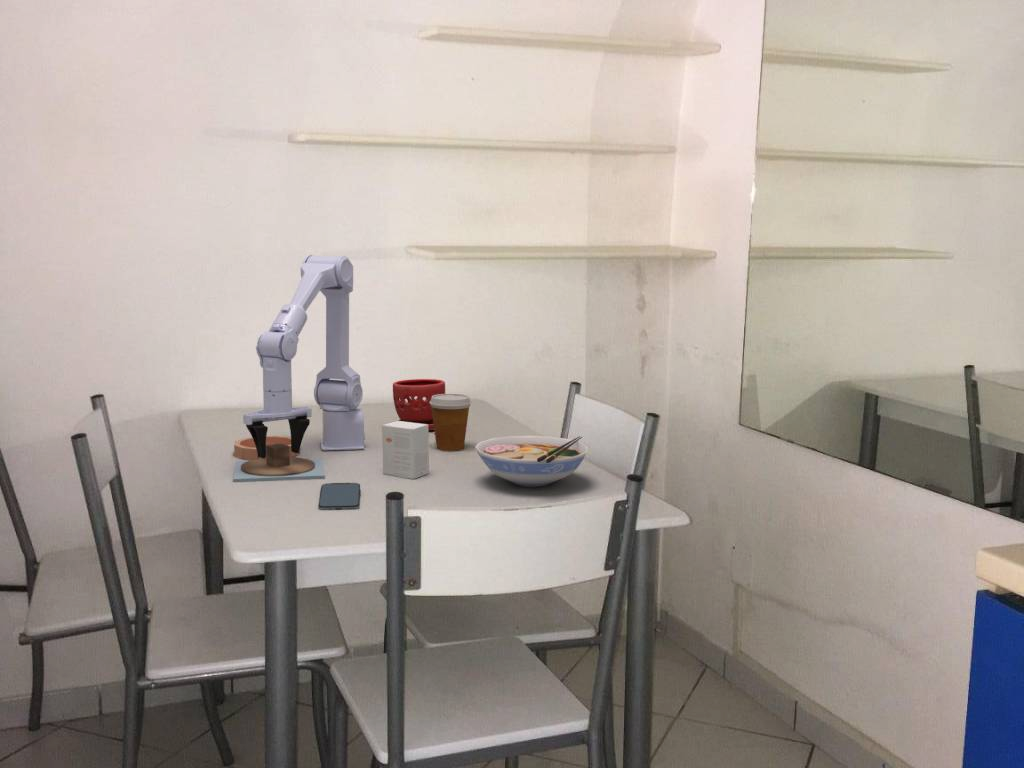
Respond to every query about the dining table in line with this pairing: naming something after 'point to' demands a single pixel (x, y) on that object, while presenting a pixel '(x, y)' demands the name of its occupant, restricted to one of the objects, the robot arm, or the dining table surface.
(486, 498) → the dining table surface
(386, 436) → the small box
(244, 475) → the mat
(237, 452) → the dish
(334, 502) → the smartphone
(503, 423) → the dining table surface
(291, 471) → the lid
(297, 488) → the dining table surface
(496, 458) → the ramen bowl
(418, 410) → the plant pot
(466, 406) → the disposable coffee cup
